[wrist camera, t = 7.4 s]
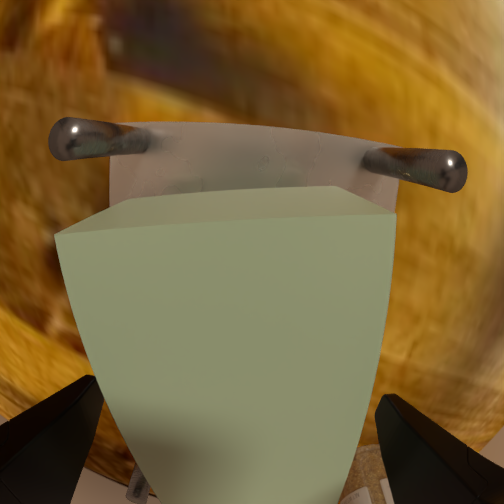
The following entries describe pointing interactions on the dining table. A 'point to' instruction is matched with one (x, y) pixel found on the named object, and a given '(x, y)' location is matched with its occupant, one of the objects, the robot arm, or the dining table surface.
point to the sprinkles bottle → (367, 479)
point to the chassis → (246, 167)
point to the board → (235, 335)
